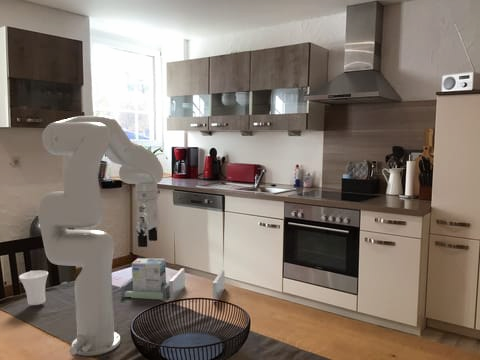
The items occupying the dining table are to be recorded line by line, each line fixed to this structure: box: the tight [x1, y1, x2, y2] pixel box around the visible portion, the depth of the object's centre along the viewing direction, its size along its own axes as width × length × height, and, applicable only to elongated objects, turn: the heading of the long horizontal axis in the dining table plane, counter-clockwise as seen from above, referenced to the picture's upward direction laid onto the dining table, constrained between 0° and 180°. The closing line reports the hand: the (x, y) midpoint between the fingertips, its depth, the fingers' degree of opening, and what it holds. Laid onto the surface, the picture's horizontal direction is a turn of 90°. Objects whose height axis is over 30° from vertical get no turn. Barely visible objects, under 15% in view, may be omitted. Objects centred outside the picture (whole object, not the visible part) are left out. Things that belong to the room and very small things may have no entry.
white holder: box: [168, 268, 226, 302], centre depth 153 cm, size 14×16×7 cm
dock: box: [120, 277, 170, 300], centre depth 156 cm, size 12×16×4 cm
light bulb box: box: [131, 257, 167, 293], centre depth 155 cm, size 11×7×11 cm, turn 83°
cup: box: [18, 270, 49, 306], centre depth 144 cm, size 9×9×10 cm
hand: (148, 243), depth 153 cm, fingers open, 9 cm apart
